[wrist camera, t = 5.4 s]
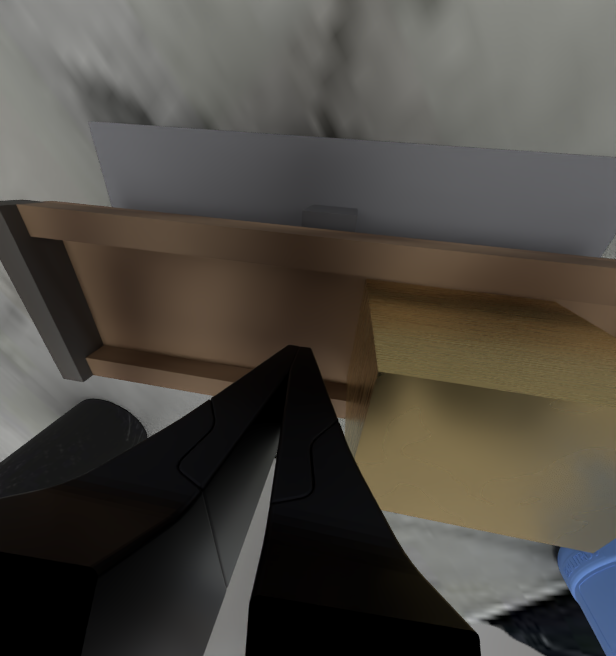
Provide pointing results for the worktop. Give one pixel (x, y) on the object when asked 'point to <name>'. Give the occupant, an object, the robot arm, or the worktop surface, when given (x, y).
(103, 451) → the travel mug
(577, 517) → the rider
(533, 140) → the worktop surface
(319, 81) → the worktop surface
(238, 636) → the drinking glass
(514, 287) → the beam
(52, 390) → the worktop surface
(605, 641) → the water jug
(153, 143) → the stand
